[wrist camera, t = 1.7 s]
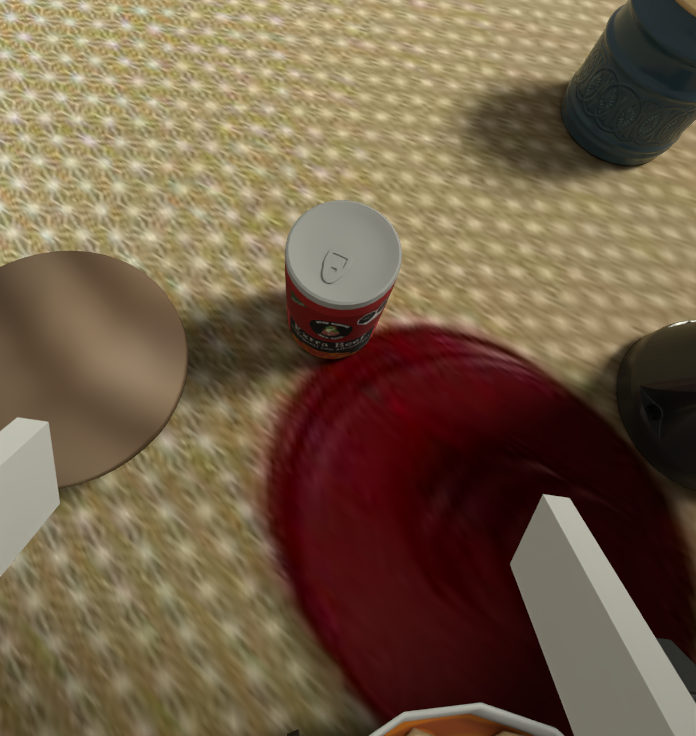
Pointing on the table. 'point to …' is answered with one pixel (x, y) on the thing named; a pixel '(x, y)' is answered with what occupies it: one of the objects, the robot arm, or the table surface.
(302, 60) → the table surface
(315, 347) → the canned food
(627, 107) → the canister
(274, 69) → the table surface
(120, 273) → the cake stand
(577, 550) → the robot arm
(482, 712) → the ramen bowl
